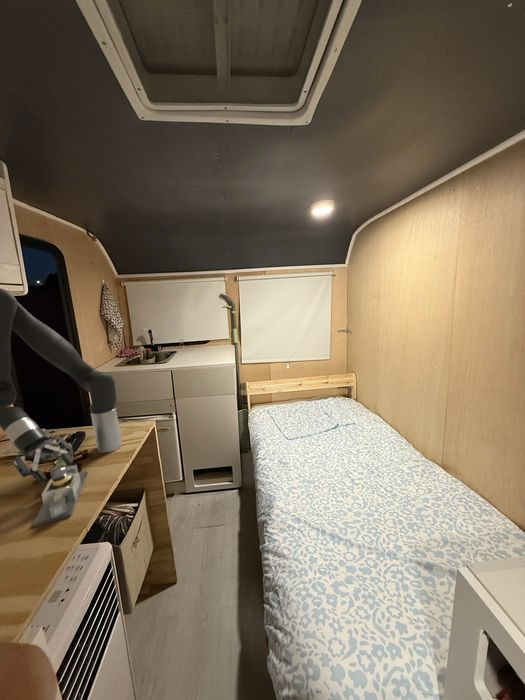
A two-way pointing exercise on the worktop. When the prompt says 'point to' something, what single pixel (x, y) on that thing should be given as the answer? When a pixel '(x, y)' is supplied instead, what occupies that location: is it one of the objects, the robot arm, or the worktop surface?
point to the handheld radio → (60, 461)
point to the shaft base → (69, 503)
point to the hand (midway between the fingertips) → (58, 472)
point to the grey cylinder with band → (59, 477)
